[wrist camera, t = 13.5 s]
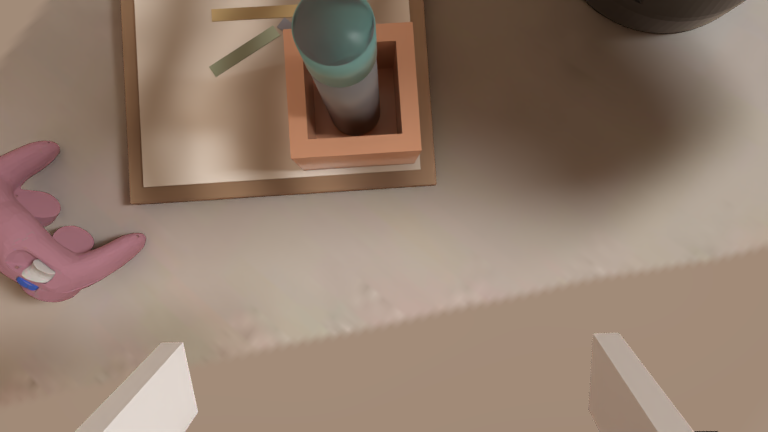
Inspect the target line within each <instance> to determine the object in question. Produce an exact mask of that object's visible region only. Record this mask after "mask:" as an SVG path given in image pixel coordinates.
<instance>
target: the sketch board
mask: <svg viewBox="0 0 768 432" xmlns="http://www.w3.org/2000/svg"><path fill="white" fill-rule="evenodd" d="M300 1H301V0H120V3H121V23H122V43H123V64H124V84H125V105H126V125H127V146H128V166H129V187H130V204H136V205H141V204H156V203H171V202H187V201H202V200H217V199H233V198H248V197H263V196H279V195H294V194H309V193H324V192H340V191H355V190H370V189H386V188H401V187H416V186H432V185H436V170H435V156H434V142H433V128H432V114H431V100H430V86H429V72H428V58H427V44H426V30H425V16H424V2H423V0H366V1H367V2H368V3H369V5H370V6H371V8H372V11H373V13H374V17H375V23H376V24H385V23H402V22H413V34H414V48H415V62H416V76H417V91H418V105H419V119H420V133H421V147H422V151H421V152H420V154H419V156H418V158H417V159H416V161H415V163H414V164H400V165H385V166H369V167H354V168H338V169H322V170H307V171H304V170H303V169H302V168H301V167H299V166H298V165H297V164H296V163H295V162H294V161H293V160H292V159H291V155H290V138H289V122H288V105H287V89H286V72H285V56H284V40H283V29H292V18H293V14H294V12H295V9H296V7H297V6H298V4H299V3H300Z"/></svg>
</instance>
